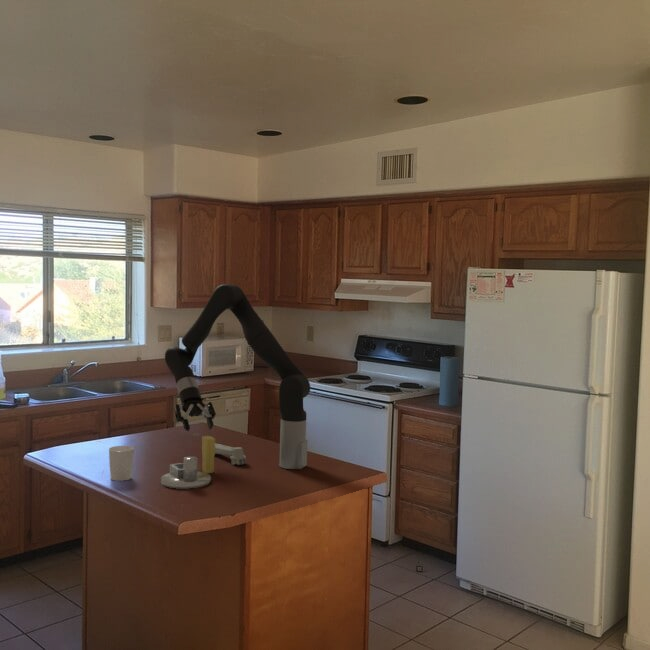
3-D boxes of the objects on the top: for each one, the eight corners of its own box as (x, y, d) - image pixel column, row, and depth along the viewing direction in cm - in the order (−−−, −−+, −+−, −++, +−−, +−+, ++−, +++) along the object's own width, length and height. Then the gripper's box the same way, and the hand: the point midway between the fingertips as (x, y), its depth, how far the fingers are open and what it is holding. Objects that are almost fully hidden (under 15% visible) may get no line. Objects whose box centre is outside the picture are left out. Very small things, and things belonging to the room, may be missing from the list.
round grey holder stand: (154, 478, 231) (154, 452, 230) (199, 473, 239) (200, 448, 238) (170, 491, 217) (171, 464, 216) (218, 485, 225) (219, 458, 225)
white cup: (120, 483, 224) (120, 452, 224) (103, 478, 228) (103, 448, 228) (138, 477, 231) (139, 448, 230) (122, 473, 235) (122, 444, 235)
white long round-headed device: (213, 440, 271) (248, 444, 252) (214, 457, 271) (249, 463, 252) (201, 442, 268) (235, 446, 249) (202, 459, 268) (236, 465, 248)
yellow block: (201, 470, 242) (202, 436, 242) (209, 469, 244) (209, 435, 243) (206, 473, 238) (207, 439, 238) (214, 472, 240) (215, 438, 239)
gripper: (172, 387, 250) (183, 424, 241) (209, 385, 258) (221, 421, 249) (167, 399, 255) (177, 436, 246) (204, 397, 262) (215, 433, 253)
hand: (199, 428), depth 247 cm, fingers open, 8 cm apart
